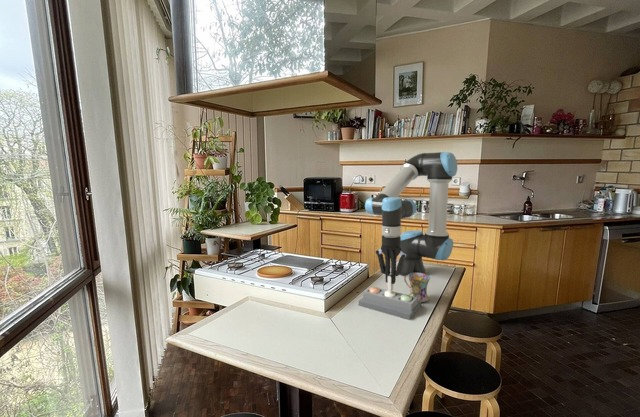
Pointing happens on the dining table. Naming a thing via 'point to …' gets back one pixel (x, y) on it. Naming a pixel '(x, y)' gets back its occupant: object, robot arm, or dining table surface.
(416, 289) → the mug
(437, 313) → the dining table surface
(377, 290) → the brown egg
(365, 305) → the panel
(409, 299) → the pale green rounded piece
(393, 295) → the white egg
